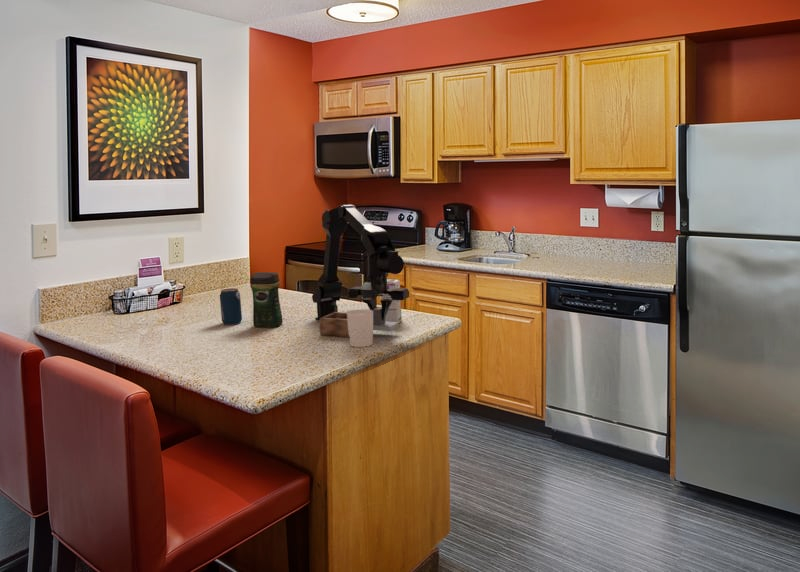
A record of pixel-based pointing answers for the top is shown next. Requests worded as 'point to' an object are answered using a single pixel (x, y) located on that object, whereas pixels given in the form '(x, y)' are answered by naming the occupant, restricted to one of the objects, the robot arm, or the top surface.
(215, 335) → the top surface
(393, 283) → the syrup box
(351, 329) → the beige cup
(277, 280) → the coffee jar
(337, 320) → the walnut box
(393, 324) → the cover plate
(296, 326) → the top surface
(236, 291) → the soda can
